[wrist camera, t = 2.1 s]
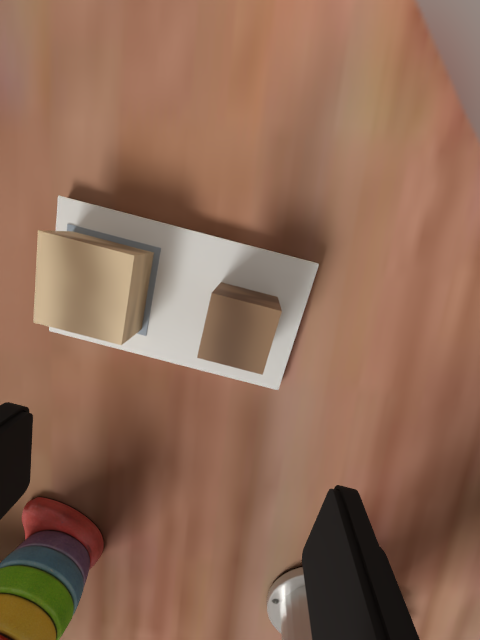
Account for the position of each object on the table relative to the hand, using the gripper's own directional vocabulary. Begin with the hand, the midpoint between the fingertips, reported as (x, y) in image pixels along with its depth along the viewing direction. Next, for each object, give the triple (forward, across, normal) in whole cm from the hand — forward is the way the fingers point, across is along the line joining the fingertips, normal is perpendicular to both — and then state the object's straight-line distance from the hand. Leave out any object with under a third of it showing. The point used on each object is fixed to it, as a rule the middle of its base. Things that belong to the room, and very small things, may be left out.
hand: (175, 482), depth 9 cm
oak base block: (+18, +11, -1) cm, 21 cm away
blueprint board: (+19, +5, -1) cm, 20 cm away
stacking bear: (+19, +13, +32) cm, 40 cm away
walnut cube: (+18, -1, -1) cm, 18 cm away
